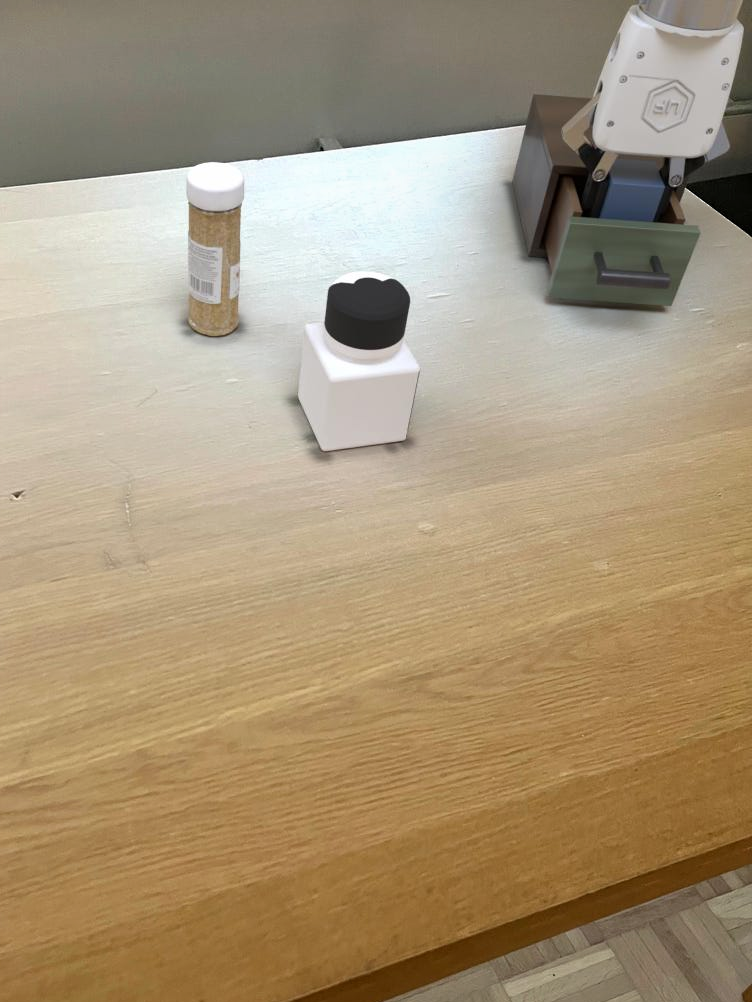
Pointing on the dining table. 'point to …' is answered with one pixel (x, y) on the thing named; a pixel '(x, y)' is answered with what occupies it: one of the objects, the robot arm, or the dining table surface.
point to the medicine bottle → (359, 364)
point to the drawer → (614, 251)
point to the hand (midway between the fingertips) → (619, 217)
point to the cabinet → (552, 164)
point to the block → (632, 191)
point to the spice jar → (214, 246)
